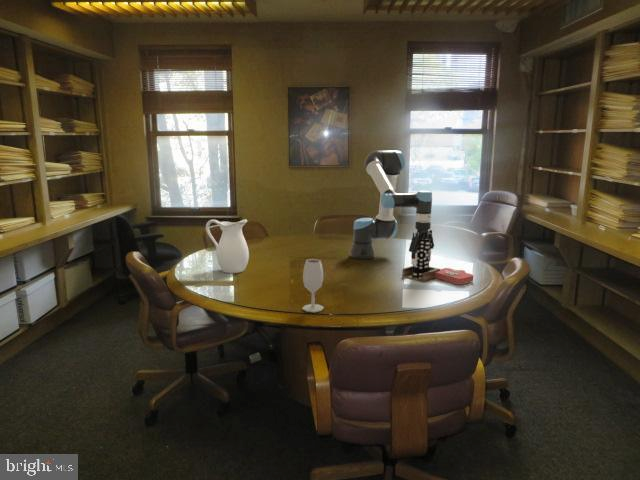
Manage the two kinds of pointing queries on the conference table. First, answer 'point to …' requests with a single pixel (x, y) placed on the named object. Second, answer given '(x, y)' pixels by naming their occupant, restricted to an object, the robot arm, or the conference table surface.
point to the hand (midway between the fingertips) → (421, 262)
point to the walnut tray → (425, 276)
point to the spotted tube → (422, 258)
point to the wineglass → (313, 282)
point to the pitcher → (231, 246)
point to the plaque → (454, 276)
